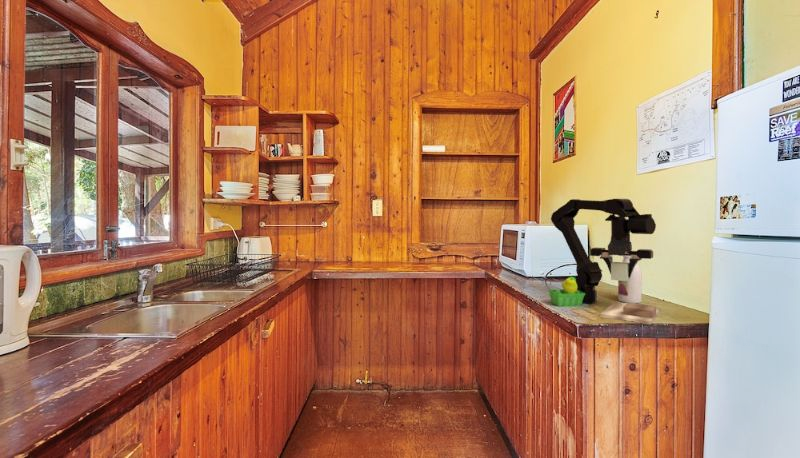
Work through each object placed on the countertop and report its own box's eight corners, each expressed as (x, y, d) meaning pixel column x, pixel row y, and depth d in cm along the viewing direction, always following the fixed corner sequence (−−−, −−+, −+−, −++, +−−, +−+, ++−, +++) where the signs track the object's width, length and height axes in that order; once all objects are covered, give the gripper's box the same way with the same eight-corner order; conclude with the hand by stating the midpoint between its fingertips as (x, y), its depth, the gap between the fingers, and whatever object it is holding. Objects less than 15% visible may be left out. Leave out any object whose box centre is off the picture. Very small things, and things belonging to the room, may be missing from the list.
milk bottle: (639, 300, 141) (639, 250, 141) (643, 304, 134) (643, 252, 134) (616, 298, 144) (616, 250, 144) (619, 302, 137) (619, 251, 137)
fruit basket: (575, 301, 140) (575, 273, 140) (588, 307, 132) (588, 277, 131) (547, 302, 140) (547, 274, 139) (558, 308, 131) (558, 278, 131)
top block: (611, 279, 127) (610, 263, 127) (614, 277, 131) (614, 261, 131) (627, 281, 124) (627, 264, 124) (630, 279, 127) (630, 262, 127)
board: (599, 316, 119) (599, 313, 119) (615, 304, 135) (615, 301, 135) (650, 324, 109) (650, 321, 109) (660, 310, 125) (660, 307, 125)
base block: (623, 314, 118) (623, 306, 118) (628, 309, 123) (628, 302, 123) (652, 318, 112) (652, 310, 112) (656, 313, 118) (656, 306, 118)
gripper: (585, 234, 127) (585, 277, 128) (648, 234, 115) (648, 282, 115) (594, 232, 135) (594, 273, 136) (653, 233, 123) (653, 278, 123)
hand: (620, 276), depth 127 cm, fingers closed on top block, 5 cm apart
